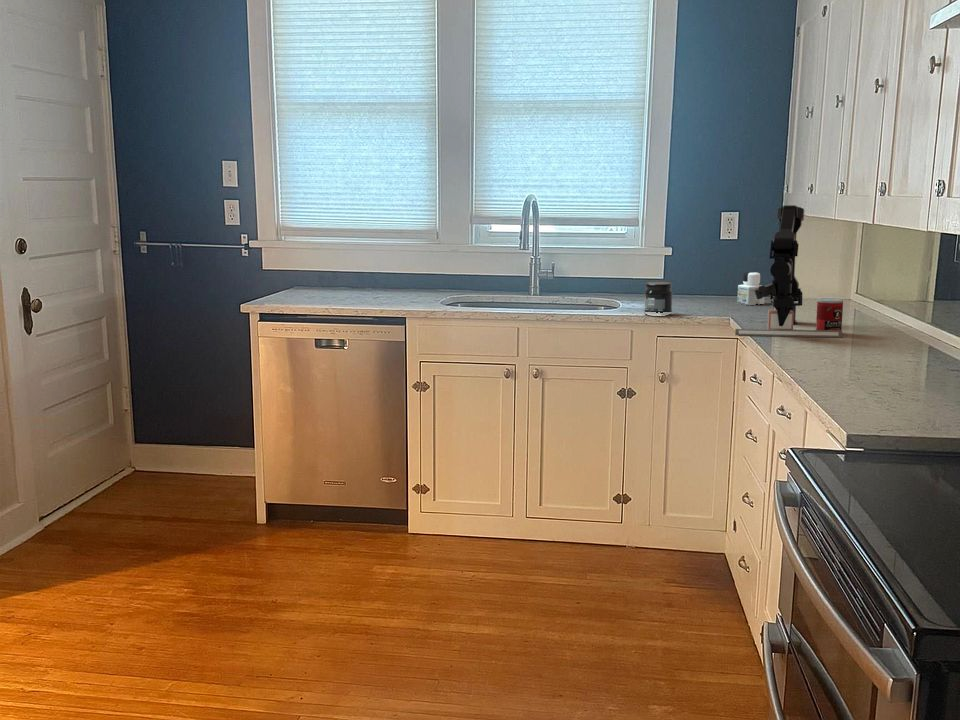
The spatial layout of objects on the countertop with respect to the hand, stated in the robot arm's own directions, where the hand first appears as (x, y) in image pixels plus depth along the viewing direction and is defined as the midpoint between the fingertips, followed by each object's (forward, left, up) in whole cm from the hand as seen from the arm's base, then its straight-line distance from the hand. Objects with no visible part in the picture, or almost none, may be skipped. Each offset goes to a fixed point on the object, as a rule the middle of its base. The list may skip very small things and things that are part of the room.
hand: (780, 324), depth 286 cm
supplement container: (-40, -41, -3) cm, 58 cm away
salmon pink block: (0, 0, -2) cm, 2 cm away
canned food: (-2, +15, -3) cm, 16 cm away
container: (-75, -6, -3) cm, 76 cm away
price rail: (+5, +2, -3) cm, 6 cm away
